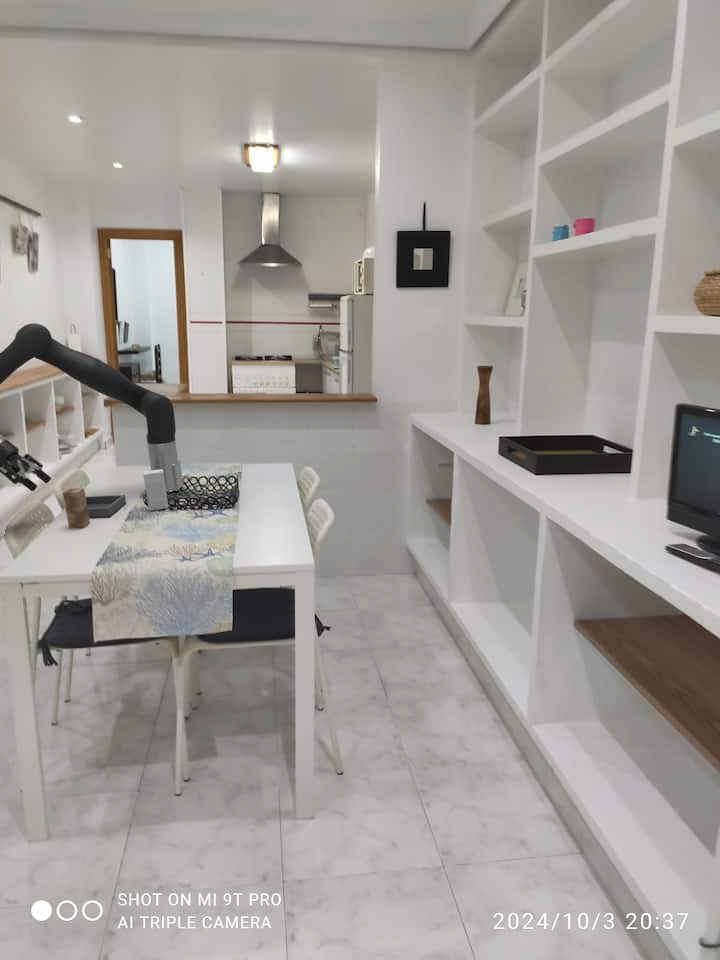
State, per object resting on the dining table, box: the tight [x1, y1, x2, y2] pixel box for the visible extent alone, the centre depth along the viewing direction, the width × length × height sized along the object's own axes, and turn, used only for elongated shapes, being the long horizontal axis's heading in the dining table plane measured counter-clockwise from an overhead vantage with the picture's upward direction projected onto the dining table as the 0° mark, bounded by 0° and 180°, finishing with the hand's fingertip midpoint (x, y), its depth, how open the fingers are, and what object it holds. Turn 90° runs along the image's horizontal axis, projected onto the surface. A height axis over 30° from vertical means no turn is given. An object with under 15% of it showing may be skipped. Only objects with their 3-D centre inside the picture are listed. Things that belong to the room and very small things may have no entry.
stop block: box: [62, 487, 91, 529], centre depth 206 cm, size 4×4×11 cm
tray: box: [85, 494, 127, 519], centre depth 221 cm, size 13×14×3 cm
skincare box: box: [143, 469, 169, 512], centre depth 220 cm, size 6×4×12 cm
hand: (42, 484), depth 205 cm, fingers open, 8 cm apart
